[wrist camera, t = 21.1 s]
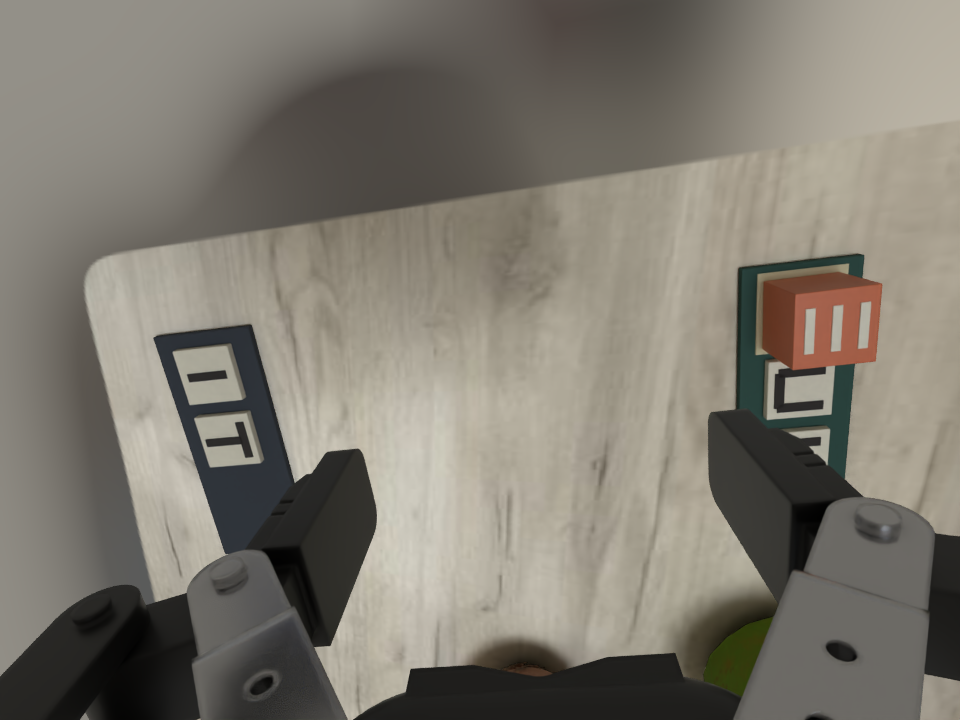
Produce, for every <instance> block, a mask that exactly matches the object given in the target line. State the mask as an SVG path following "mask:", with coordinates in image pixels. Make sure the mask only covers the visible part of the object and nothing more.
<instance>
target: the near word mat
mask: <svg viewBox="0 0 960 720" xmlns="http://www.w3.org/2000/svg"><path fill="white" fill-rule="evenodd" d="M863 265H864V255H861V254H856V255H848V256H839V257H830V258H822V259H813V260H805V261H796V262H787V263H779V264H770V265H762V266H753V267H744V268H739V302H738V361H737V409H749V410H750V411H751V412H752V413H753V414H754V415H755V416H756V417H757V418H758V419H759V420H760V421H761V422H762V423H763V424H764V425H765V426H766V427H767V428H779V429H781V430H783V431H785V432H788V433H790V434H792V435H794V436H796V437H799V438H800V439H801V440H802V441H803V442H804V443H806V444H807V445H808V446H809V447H810V448H811V449H812V450H813V451H814V454H818V455H819V456H820V457H821V458H822V459H823V460H824V461H825V462H826V465H829V466H831V467H832V468H833V469H834V470H835V471H836V472H837V473H838V474H839V475H840V476H841V477H843V478H844V479H845V469H846V458H847V446H848V435H849V424H850V412H851V401H852V389H853V378H854V367H855V364H846V365H837V366H827V367H818V368H809V369H799V370H792V369H790V368H789V367H787V366H786V365H784V364H783V363H782V362H780V361H779V360H777V359H776V358H774V357H773V356H771V355H770V354H768V353H767V352H766V351H764V350H763V349H762V348H763V290H764V281H771V280H779V279H787V278H795V277H803V276H811V275H819V274H827V273H835V272H842V273H845V274H849V275H852V276H856V277H860V278H862V276H863Z"/></svg>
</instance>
